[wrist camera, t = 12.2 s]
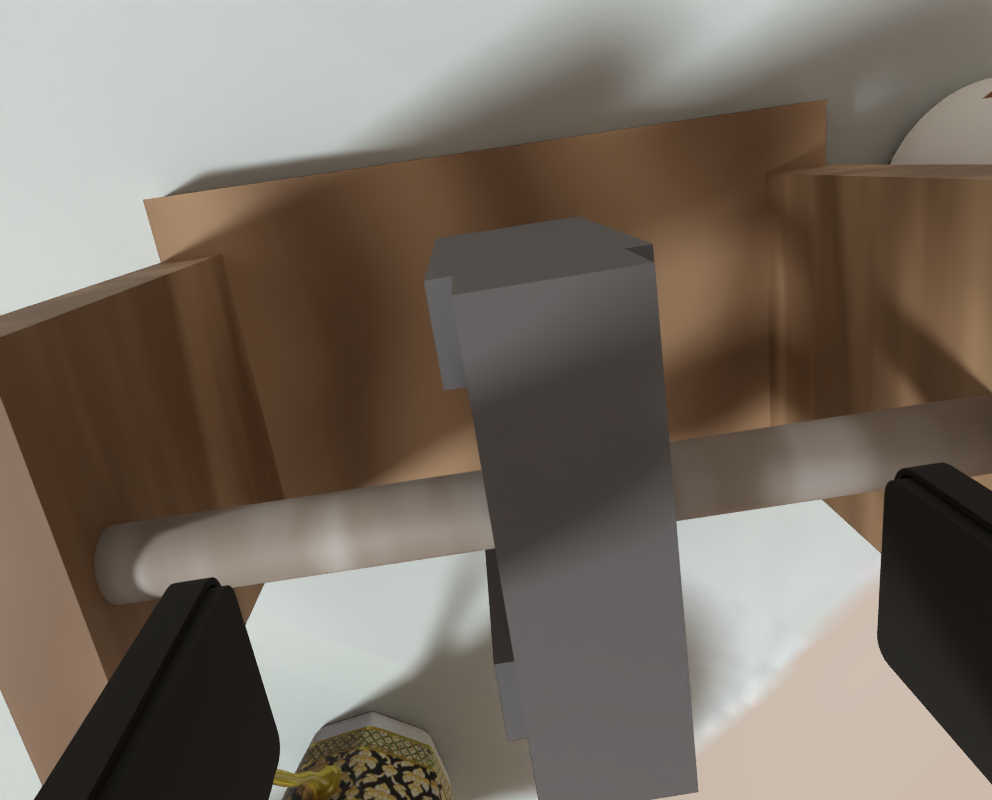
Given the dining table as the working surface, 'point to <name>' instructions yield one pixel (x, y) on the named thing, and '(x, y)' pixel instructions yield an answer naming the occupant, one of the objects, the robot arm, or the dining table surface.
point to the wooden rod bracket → (447, 413)
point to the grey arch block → (574, 499)
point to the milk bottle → (952, 130)
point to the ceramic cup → (368, 763)
